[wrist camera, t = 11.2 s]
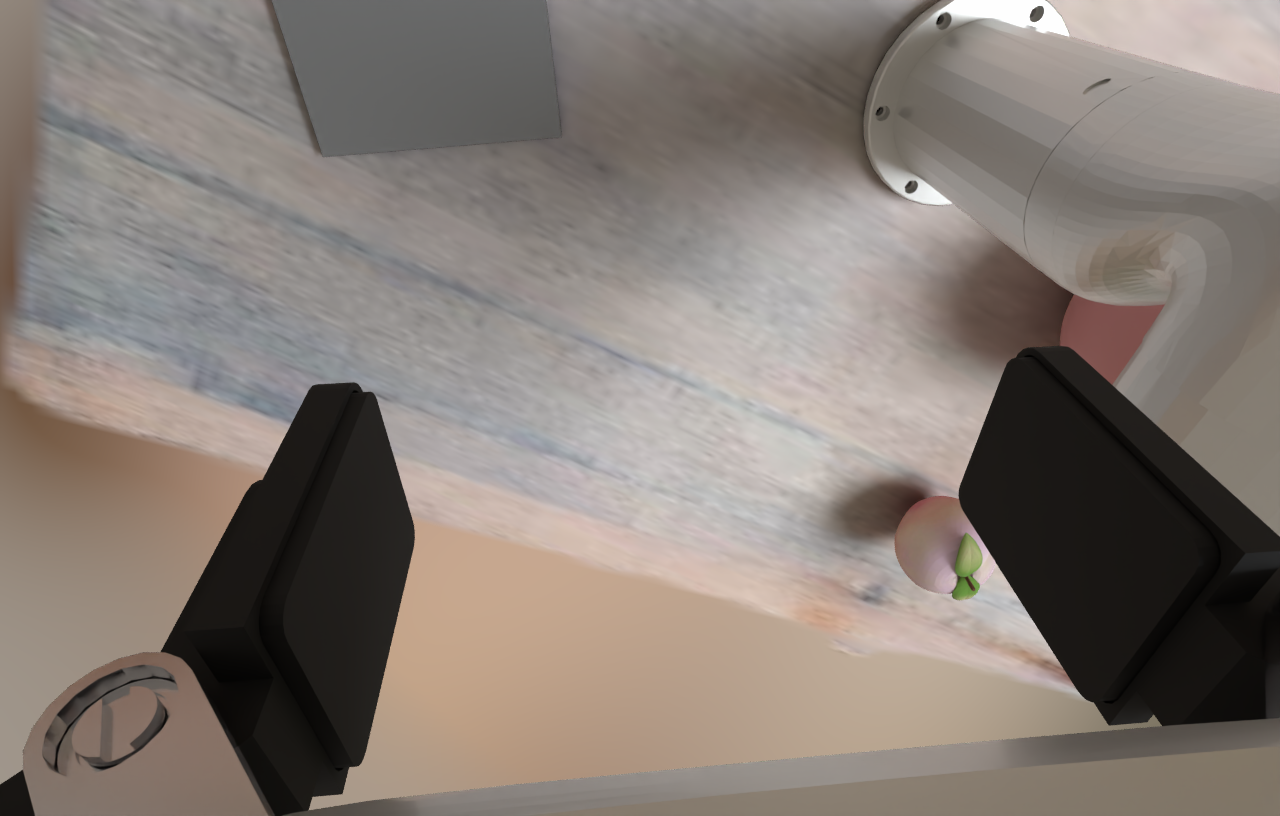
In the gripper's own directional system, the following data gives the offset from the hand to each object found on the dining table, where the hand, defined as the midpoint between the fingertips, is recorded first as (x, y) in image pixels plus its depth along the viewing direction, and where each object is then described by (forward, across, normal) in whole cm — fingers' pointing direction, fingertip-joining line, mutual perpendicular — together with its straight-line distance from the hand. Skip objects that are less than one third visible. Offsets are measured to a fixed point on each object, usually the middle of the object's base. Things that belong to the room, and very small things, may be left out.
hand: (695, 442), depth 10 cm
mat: (+35, +10, -2) cm, 36 cm away
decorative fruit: (+36, -29, +41) cm, 62 cm away
